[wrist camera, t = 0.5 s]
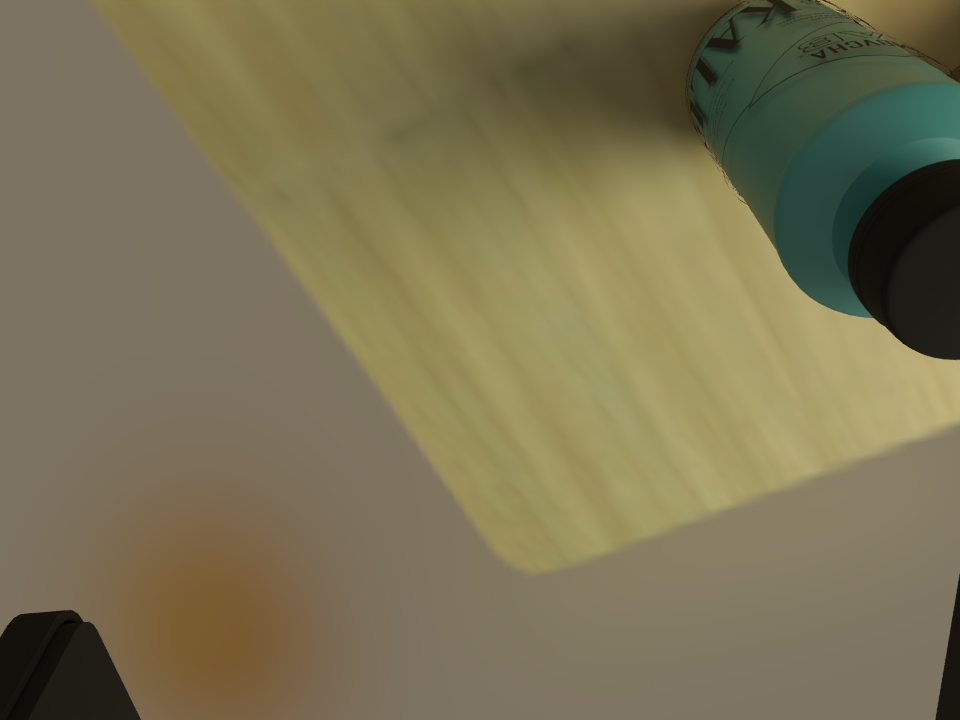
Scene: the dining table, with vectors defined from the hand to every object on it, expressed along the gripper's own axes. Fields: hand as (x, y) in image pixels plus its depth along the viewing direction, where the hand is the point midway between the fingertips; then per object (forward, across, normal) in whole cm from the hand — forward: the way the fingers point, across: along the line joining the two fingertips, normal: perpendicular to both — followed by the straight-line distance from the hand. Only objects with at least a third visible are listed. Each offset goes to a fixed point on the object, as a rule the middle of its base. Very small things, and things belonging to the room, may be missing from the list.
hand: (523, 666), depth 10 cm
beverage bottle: (+31, -9, +2) cm, 32 cm away
